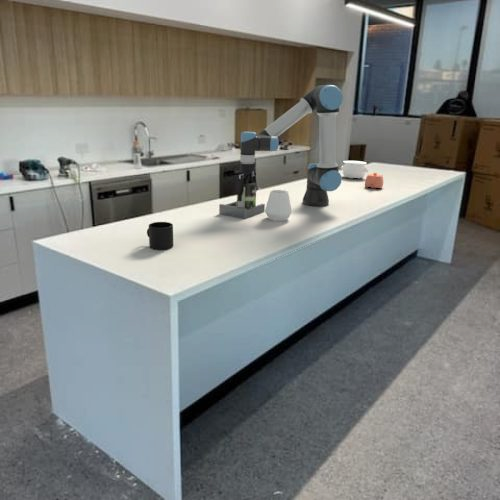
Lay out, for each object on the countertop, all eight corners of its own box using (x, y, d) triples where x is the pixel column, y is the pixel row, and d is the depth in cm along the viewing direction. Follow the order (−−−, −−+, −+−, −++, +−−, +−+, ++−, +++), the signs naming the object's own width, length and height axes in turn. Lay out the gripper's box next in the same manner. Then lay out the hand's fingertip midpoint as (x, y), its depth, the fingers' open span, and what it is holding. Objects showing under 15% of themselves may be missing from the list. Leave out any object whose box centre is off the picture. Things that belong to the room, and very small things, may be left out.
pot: (335, 177, 357) (336, 161, 353) (344, 175, 370) (346, 159, 366) (362, 181, 345) (363, 164, 341) (370, 178, 358) (372, 162, 354)
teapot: (384, 187, 324) (386, 172, 321) (378, 191, 310) (379, 175, 306) (368, 185, 330) (370, 170, 326) (361, 189, 315) (363, 173, 311)
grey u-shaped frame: (264, 211, 245) (264, 202, 243) (244, 218, 229) (244, 209, 227) (240, 207, 252) (240, 198, 251) (219, 214, 237) (219, 204, 235)
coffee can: (257, 208, 247) (258, 182, 243) (253, 212, 238) (254, 185, 233) (238, 206, 249) (239, 180, 245) (234, 210, 240) (234, 184, 235)
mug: (155, 240, 191) (154, 219, 188) (178, 245, 186) (177, 224, 183) (139, 246, 183) (138, 224, 180) (162, 251, 178) (162, 229, 175)
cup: (294, 217, 235) (295, 190, 230) (287, 223, 223) (289, 195, 218) (269, 214, 239) (270, 188, 234) (261, 220, 227) (262, 192, 222)
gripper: (252, 160, 247) (251, 200, 254) (228, 164, 228) (228, 208, 235) (264, 161, 243) (263, 202, 250) (241, 165, 225) (240, 210, 232)
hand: (246, 205), depth 243 cm, fingers closed on coffee can, 10 cm apart
